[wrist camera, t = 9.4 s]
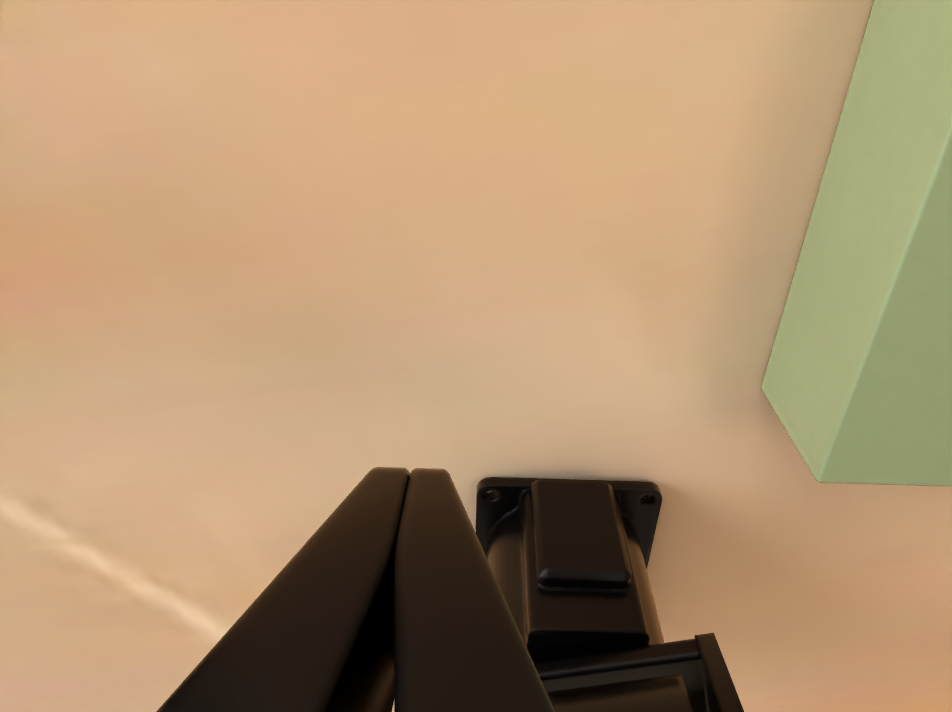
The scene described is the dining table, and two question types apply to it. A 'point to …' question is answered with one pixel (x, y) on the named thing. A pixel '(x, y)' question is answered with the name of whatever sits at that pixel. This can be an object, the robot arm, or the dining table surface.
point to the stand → (878, 270)
